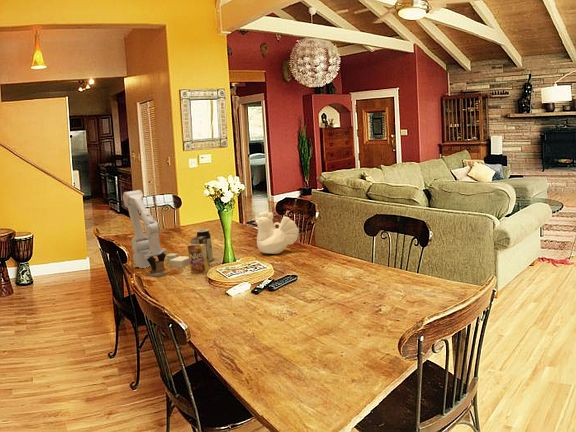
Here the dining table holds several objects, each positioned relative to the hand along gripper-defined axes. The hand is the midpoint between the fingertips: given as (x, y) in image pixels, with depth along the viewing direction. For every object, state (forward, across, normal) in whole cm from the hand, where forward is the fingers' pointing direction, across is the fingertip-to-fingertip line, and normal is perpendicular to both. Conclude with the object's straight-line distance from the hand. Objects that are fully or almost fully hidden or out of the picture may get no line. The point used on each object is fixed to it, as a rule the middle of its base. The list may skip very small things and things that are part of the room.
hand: (157, 268), depth 300 cm
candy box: (+2, +6, -26) cm, 27 cm away
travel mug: (+2, +26, -12) cm, 29 cm away
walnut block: (+1, 0, 0) cm, 1 cm away
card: (+1, -6, -6) cm, 9 cm away
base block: (+2, +14, -4) cm, 15 cm away
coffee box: (+2, +16, -18) cm, 24 cm away
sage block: (+2, +16, +5) cm, 17 cm away
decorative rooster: (+2, +52, -45) cm, 69 cm away
